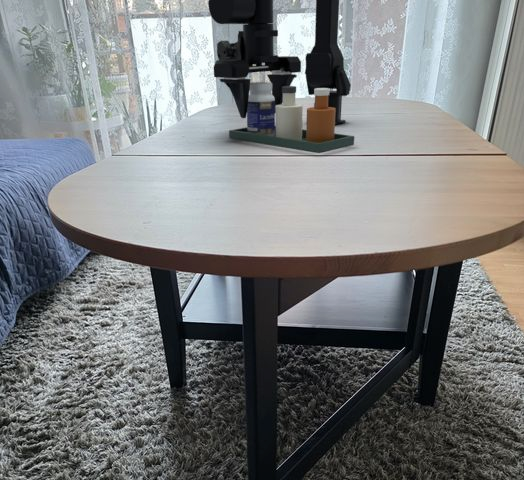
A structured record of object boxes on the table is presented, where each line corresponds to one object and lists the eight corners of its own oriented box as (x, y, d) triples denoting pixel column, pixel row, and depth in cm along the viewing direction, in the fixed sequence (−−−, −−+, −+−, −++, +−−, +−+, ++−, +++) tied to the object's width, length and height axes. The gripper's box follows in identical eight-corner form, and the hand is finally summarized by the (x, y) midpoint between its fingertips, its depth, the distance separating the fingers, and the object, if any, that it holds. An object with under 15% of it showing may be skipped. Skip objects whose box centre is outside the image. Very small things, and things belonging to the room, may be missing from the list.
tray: (264, 134, 111) (264, 124, 110) (353, 147, 96) (354, 136, 95) (229, 141, 105) (228, 130, 104) (318, 156, 90) (319, 143, 89)
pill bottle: (263, 139, 102) (262, 84, 97) (241, 137, 105) (239, 83, 100) (280, 135, 106) (280, 82, 100) (258, 133, 109) (257, 81, 103)
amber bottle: (318, 142, 98) (320, 86, 93) (339, 145, 95) (342, 88, 90) (300, 146, 95) (301, 89, 90) (321, 149, 92) (323, 90, 87)
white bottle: (288, 137, 103) (288, 85, 98) (307, 140, 100) (308, 86, 95) (270, 141, 100) (269, 87, 95) (289, 144, 97) (289, 88, 92)
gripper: (263, 25, 105) (264, 107, 113) (191, 25, 94) (199, 117, 102) (303, 23, 98) (302, 111, 106) (231, 24, 87) (235, 122, 96)
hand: (260, 115), depth 103 cm, fingers open, 9 cm apart
